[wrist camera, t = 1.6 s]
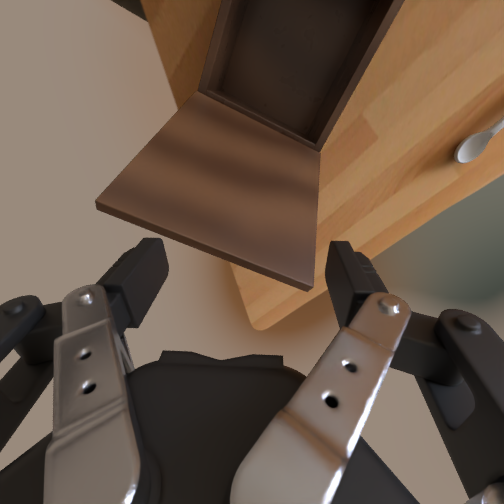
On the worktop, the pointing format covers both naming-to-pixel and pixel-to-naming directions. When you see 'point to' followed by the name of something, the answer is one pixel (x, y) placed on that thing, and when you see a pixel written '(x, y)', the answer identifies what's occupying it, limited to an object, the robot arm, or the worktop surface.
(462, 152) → the spoon
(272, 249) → the lid
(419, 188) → the worktop surface
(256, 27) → the walnut box
